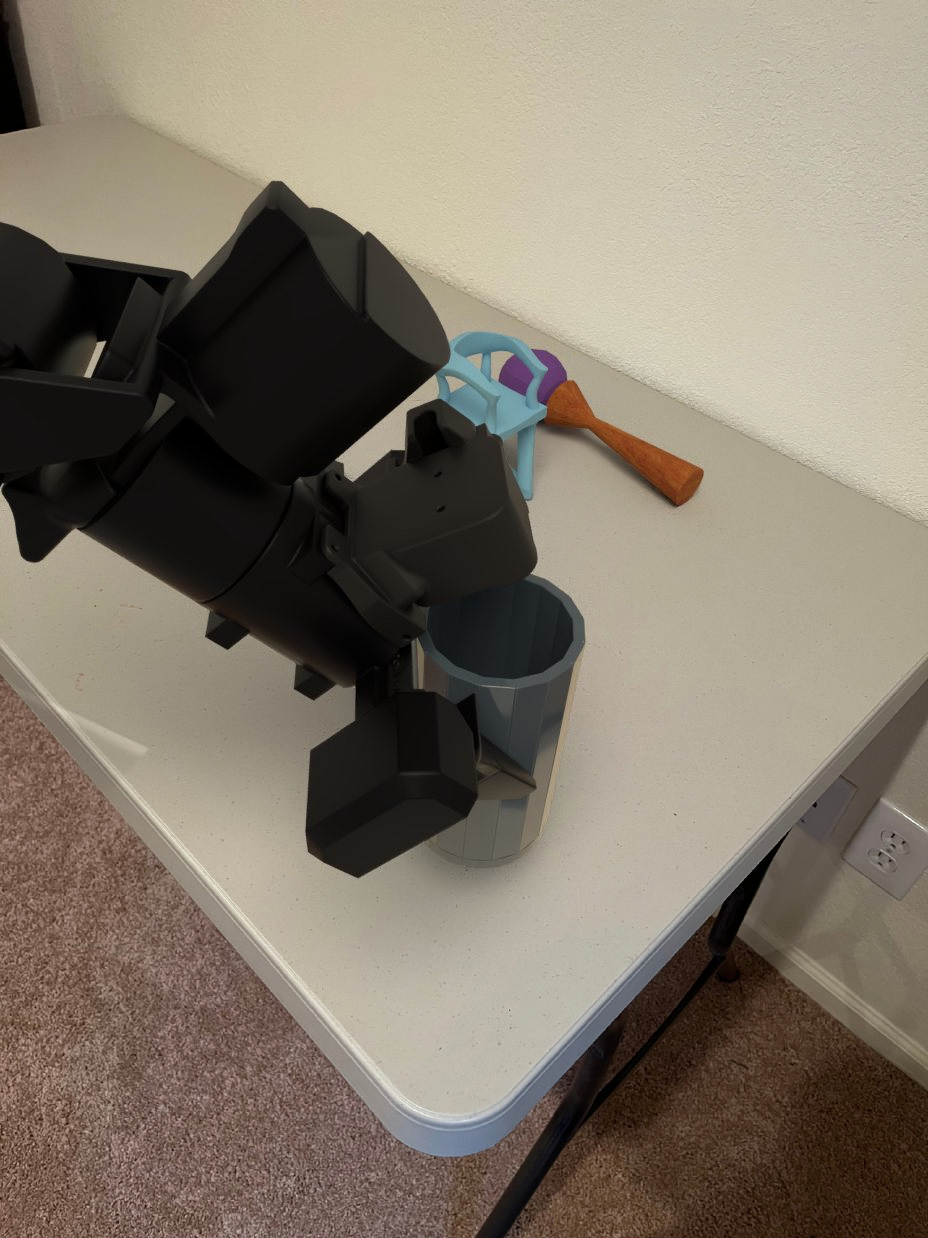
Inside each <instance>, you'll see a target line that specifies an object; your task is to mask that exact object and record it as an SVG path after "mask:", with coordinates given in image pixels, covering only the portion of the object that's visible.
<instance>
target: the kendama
mask: <svg viewBox="0 0 928 1238" xmlns="http://www.w3.org/2000/svg"><path fill="white" fill-rule="evenodd" d="M530 349H531V350H532V352H533V353H534V354H535V356H536V357H537V358H538V360H539V361H540V362H541V363H542V364H543V365H545V366H546V367H547V368H548V370H547V372H546V374H545V376H544V377H543V379H542V381H541V383H540V385H539V388H538V391H537V400H538V402H539V403H541V404H543V405H545V406H547V414H546V417H545V418H543V421H544V423H545V424H546V425H547V426H556V427H564V428H565V427H566V428H575V429H585V430H589V431H590V432H591V433H592V434H593V435H595V436H596V437H597V438H598V439H600V441H601V442H603V443H604V444H605V445H607V447H609V448H610V449H611V450H612V451H614V452H615V453H616V454H617V455H618V456H620V458H621V459H623V460H624V461H625V462H627V463H628V464H629V465H630V466H631V467H632V468H633V469H635V470H636V471H637V472H638V473H639V474H641V475H642V476H643V477H644V478H645V479H646V480H647V481H649V482H650V483H651V484H652V485H654V487H656V488H657V489H658V490H659V491H660V492H662V493H663V494H664V495H665V496H666V497H667V498H669V499H670V500H671V501H672V502H674V504H676V505H677V506H683V505H684V504H685V503H687V502H688V501H689V500H690V499H691V498H692V497H693V496H694V495H695V493H696V492H697V490H698V489H699V487H700V485H701V484H702V481H703V479H704V475H705V470H704V469H703V468H702V467H700V466H698V465H695V464H693V463H691V462H689V461H687V460H685V459H683V458H681V457H679V456H676V455H675V454H673V453H670V452H668V451H667V450H664V449H662V448H660V447H658V446H657V445H654V444H652V443H650V442H647V441H646V440H643V439H641V438H640V437H637V436H635V435H633V434H631V433H629V432H627V431H625V430H622V429H620V428H618V427H616V426H615V425H613V424H610V423H608V422H606V421H604V420H602V419H600V418H598V417H596V416H595V414H594V412H593V410H592V408H591V407H590V405H589V403H588V401H587V399H586V398H585V395H584V394H583V393H582V390H581V389H580V387H579V384H577V382H576V381H575V380H573V379H568V372H567V371H566V369H565V367H564V365H563V364H562V362H561V361H560V360H559V358H558V357H557V355H556V356H555V355H554V354H553V353H551V352H549V350H546V349H539V348H538V349H537V348H530ZM533 378H534V375H533V374H532V372H531V371H530V370H529V368H528V367H527V366H526V365H525V364H524V362H523V361H522V360H521V359H520V358H519V357H517V356H516V355H515V354H513V355H511V356H510V357H508V358H507V360H506V361H505V363H504V364H503V365H502V366H501V369H500V371H499V374H498V380H497V381H498V382H499V383H501V384H503V385H504V386H506V387H507V388H509V389H511V390H513V391H515V392H517V393H519V394H521V395H523V396H525V397H526V392H527V389H528V387H529V385H530V383H531V381H532V380H533Z"/></svg>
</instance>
